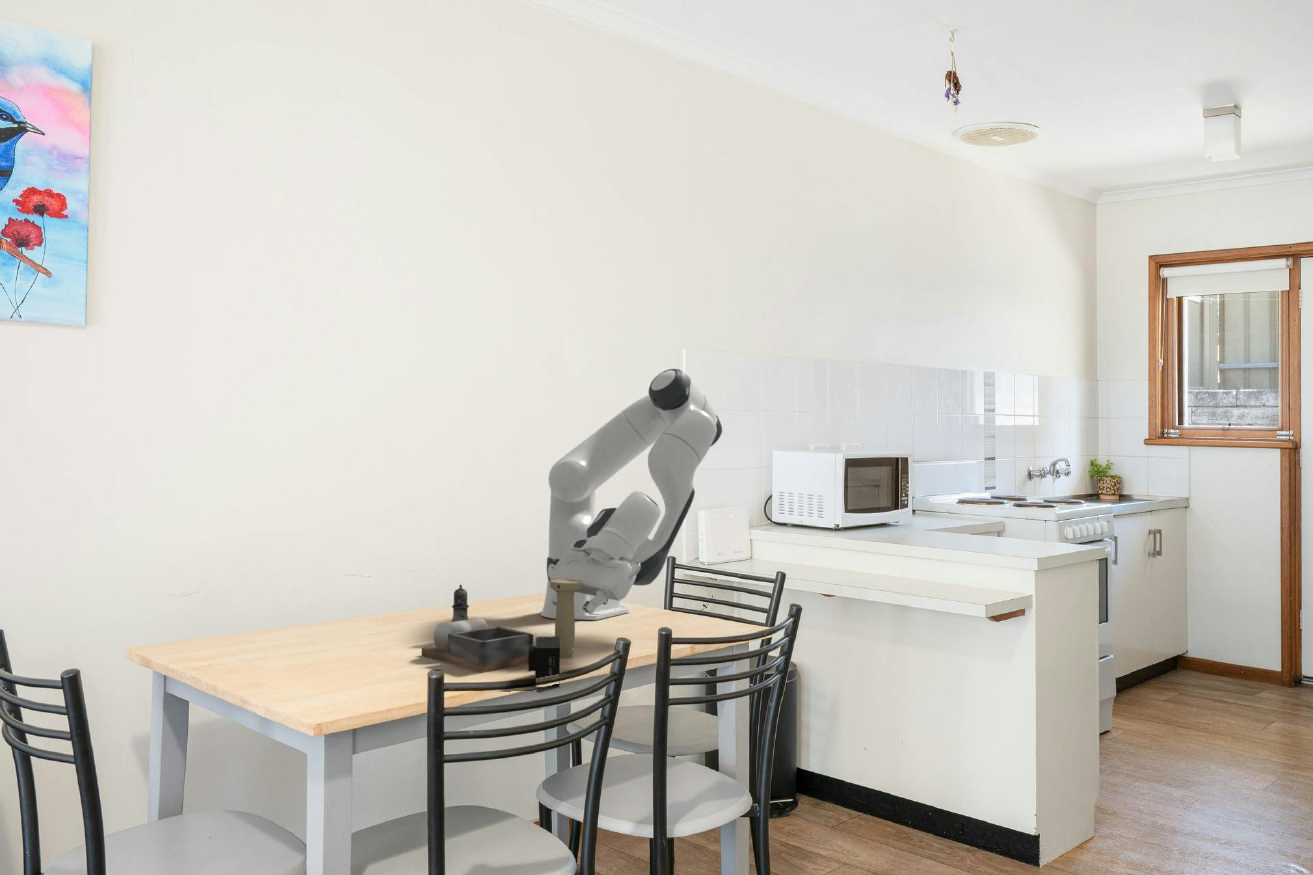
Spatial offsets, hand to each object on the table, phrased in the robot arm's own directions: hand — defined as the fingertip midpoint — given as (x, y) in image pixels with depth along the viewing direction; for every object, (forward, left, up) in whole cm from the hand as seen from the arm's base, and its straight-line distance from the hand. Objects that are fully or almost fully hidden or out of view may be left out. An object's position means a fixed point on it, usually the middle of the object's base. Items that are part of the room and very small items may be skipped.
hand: (570, 607), depth 203 cm
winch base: (+15, -10, -10) cm, 21 cm away
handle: (+1, 0, -10) cm, 10 cm away
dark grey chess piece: (+7, -27, -10) cm, 30 cm away
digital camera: (+16, +12, -10) cm, 23 cm away
